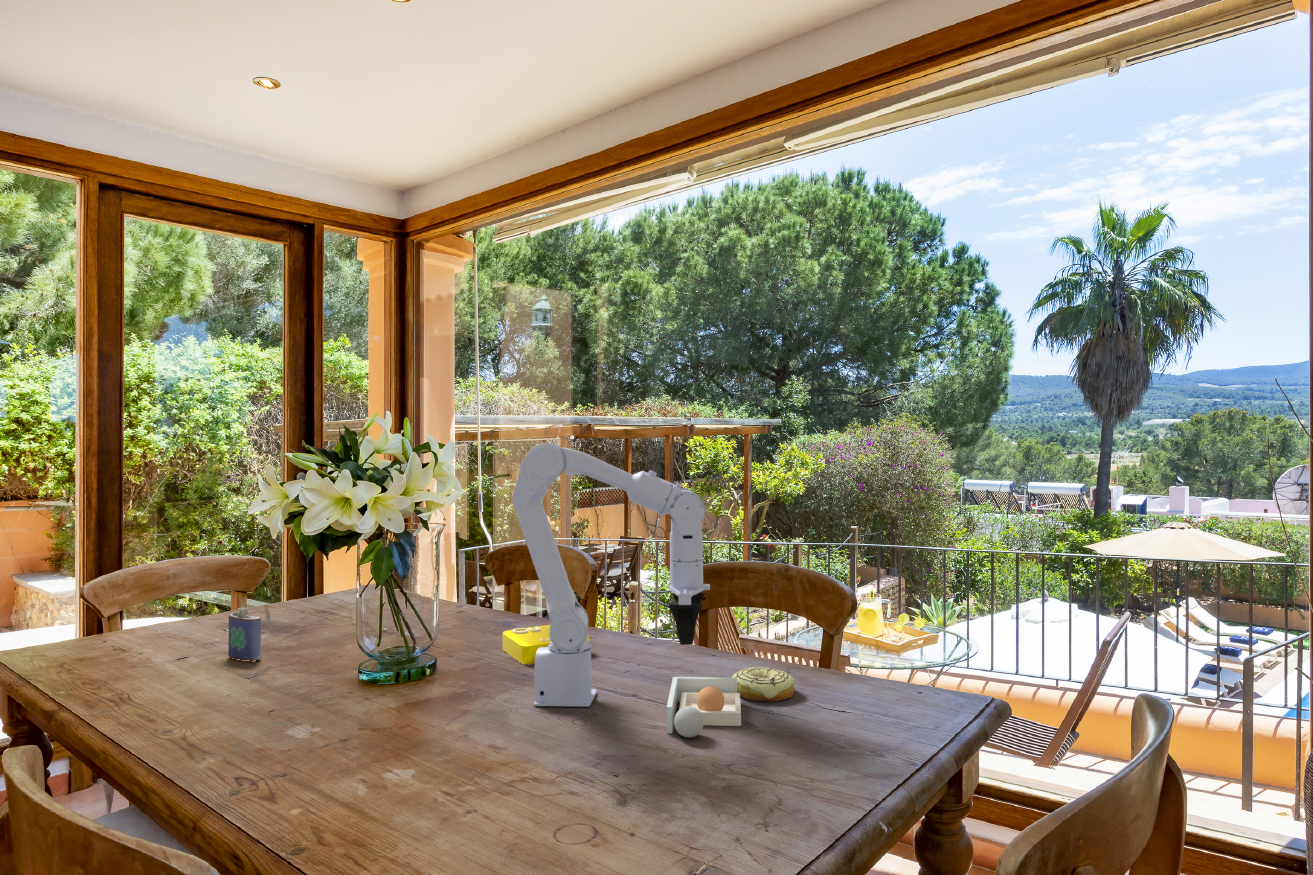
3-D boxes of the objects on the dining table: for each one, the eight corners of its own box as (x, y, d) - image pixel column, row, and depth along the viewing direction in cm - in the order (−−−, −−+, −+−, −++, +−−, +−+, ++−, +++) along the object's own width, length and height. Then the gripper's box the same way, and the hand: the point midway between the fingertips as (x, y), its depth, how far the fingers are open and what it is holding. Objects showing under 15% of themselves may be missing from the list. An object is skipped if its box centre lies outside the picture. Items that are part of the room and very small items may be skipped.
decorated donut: (777, 709, 128) (777, 686, 128) (721, 697, 134) (720, 675, 134) (804, 691, 136) (804, 669, 136) (750, 681, 143) (750, 660, 143)
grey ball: (673, 741, 114) (673, 711, 114) (675, 730, 118) (674, 701, 118) (703, 742, 113) (703, 712, 114) (704, 731, 118) (703, 702, 118)
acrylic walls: (666, 733, 117) (666, 706, 117) (673, 700, 132) (673, 676, 132) (739, 734, 116) (738, 708, 116) (737, 701, 131) (736, 677, 131)
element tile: (524, 668, 153) (523, 643, 154) (499, 651, 167) (499, 628, 167) (593, 657, 161) (592, 633, 161) (564, 641, 174) (564, 619, 174)
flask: (264, 660, 160) (263, 608, 160) (250, 663, 158) (250, 610, 158) (236, 654, 165) (236, 604, 165) (223, 658, 162) (222, 606, 162)
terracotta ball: (696, 719, 124) (696, 709, 120) (697, 692, 126) (696, 681, 123) (724, 720, 123) (724, 710, 120) (724, 693, 126) (724, 682, 123)
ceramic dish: (678, 724, 121) (678, 711, 121) (682, 703, 130) (682, 691, 130) (741, 725, 120) (740, 712, 120) (739, 704, 129) (739, 692, 129)
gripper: (708, 566, 127) (709, 649, 127) (710, 553, 141) (711, 628, 141) (665, 566, 128) (666, 649, 127) (671, 553, 142) (672, 628, 142)
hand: (687, 638), depth 134 cm, fingers open, 7 cm apart
